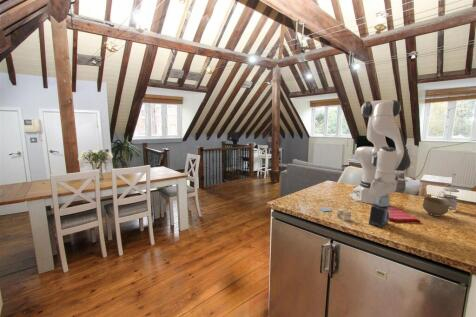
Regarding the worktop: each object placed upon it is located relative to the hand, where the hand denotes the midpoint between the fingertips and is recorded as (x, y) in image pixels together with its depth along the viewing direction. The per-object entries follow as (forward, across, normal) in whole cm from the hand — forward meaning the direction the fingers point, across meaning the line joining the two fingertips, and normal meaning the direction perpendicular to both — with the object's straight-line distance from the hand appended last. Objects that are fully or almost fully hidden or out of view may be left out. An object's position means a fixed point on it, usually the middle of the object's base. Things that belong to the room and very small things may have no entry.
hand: (381, 201), depth 129 cm
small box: (+13, 0, 0) cm, 13 cm away
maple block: (+13, -12, +14) cm, 22 cm away
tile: (+13, -10, +28) cm, 32 cm away
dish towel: (+13, +23, +3) cm, 27 cm away
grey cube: (+2, 0, 0) cm, 2 cm away
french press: (+13, +67, -8) cm, 68 cm away
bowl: (+13, +46, -9) cm, 49 cm away
